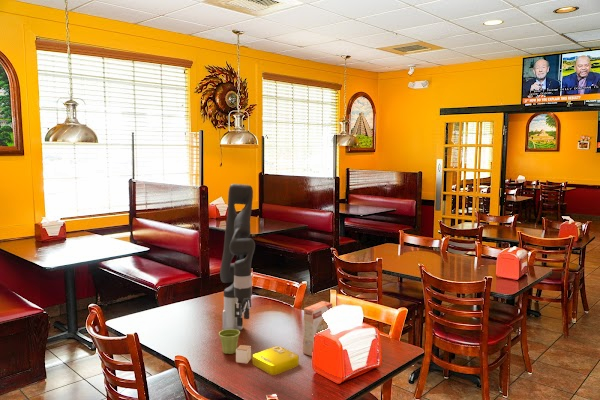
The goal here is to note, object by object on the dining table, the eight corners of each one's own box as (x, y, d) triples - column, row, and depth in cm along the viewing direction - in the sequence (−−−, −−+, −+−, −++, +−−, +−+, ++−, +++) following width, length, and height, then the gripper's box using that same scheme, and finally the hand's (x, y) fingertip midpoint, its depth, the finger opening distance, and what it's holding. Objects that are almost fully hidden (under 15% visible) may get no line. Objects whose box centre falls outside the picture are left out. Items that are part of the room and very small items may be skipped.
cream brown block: (236, 362, 206) (235, 349, 205) (240, 357, 211) (239, 344, 210) (247, 363, 205) (247, 350, 204) (251, 358, 209) (250, 345, 209)
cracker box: (313, 357, 210) (313, 310, 208) (302, 353, 214) (302, 307, 212) (332, 347, 221) (332, 302, 219) (321, 343, 225) (322, 300, 223)
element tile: (250, 364, 205) (250, 353, 204) (277, 354, 215) (277, 343, 214) (273, 377, 194) (273, 365, 193) (300, 365, 204) (300, 354, 203)
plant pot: (215, 350, 217) (214, 332, 216) (233, 345, 223) (233, 327, 222) (225, 357, 210) (225, 338, 209) (244, 352, 216) (244, 333, 215)
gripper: (240, 280, 212) (240, 316, 213) (228, 289, 198) (228, 327, 200) (256, 281, 210) (257, 317, 212) (245, 290, 196) (246, 329, 198)
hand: (243, 322), depth 206 cm, fingers open, 8 cm apart
